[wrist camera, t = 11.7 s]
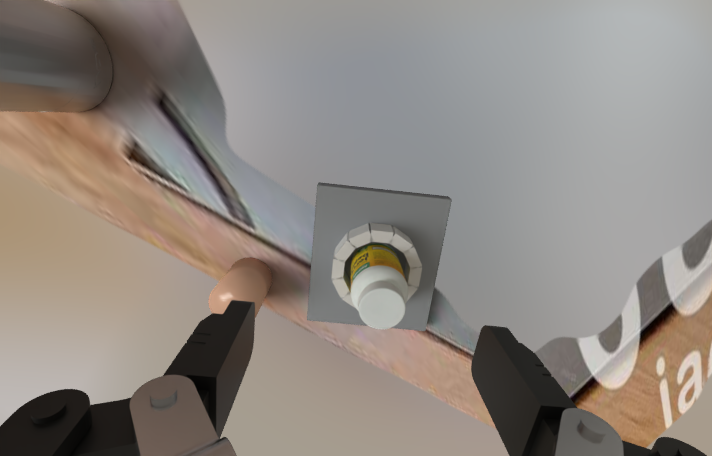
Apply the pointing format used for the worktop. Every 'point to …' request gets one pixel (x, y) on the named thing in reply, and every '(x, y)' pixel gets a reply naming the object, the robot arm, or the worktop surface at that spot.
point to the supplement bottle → (378, 285)
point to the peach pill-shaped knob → (242, 285)
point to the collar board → (367, 225)
